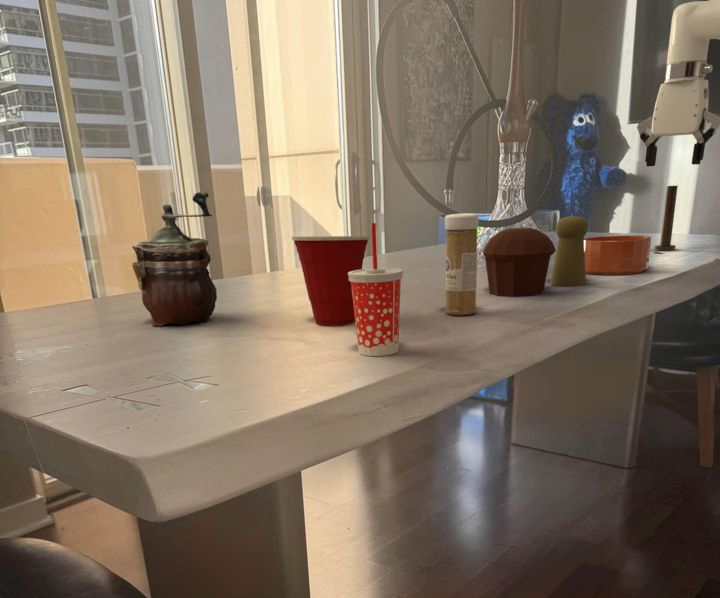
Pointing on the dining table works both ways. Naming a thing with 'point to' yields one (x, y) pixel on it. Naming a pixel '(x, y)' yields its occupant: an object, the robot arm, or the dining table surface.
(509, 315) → the dining table surface
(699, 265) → the dining table surface
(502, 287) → the muffin
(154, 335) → the dining table surface
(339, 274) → the plastic cup
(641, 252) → the bowl
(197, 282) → the coffee grinder
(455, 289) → the sprinkles bottle
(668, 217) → the muddler
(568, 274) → the cork
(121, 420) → the dining table surface
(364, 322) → the beverage cup
